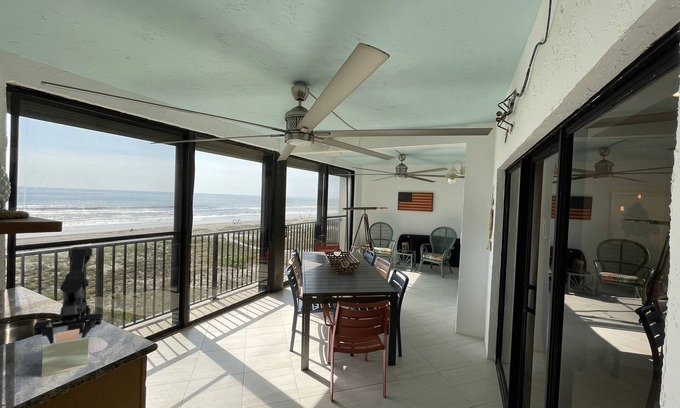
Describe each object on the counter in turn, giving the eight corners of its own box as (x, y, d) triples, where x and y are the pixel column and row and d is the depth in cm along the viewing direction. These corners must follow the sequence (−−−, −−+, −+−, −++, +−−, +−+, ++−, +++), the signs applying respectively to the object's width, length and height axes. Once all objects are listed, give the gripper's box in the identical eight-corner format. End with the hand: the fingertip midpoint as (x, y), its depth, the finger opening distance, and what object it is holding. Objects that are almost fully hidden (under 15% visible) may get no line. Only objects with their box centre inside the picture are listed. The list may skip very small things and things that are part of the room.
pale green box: (46, 364, 109) (48, 334, 109) (88, 355, 116) (90, 327, 116) (41, 377, 101) (43, 345, 101) (87, 366, 108) (88, 337, 108)
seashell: (109, 333, 129) (107, 337, 121) (107, 346, 128) (106, 352, 120) (78, 338, 123) (74, 343, 115) (76, 352, 122) (73, 358, 114)
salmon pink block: (55, 364, 107) (57, 332, 107) (77, 360, 111) (79, 328, 111) (54, 368, 105) (56, 335, 104) (77, 363, 108) (78, 331, 108)
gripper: (36, 299, 105) (27, 343, 96) (102, 292, 116) (100, 330, 108) (39, 314, 111) (31, 355, 102) (102, 305, 122) (100, 342, 114)
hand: (67, 345), depth 106 cm, fingers open, 8 cm apart
